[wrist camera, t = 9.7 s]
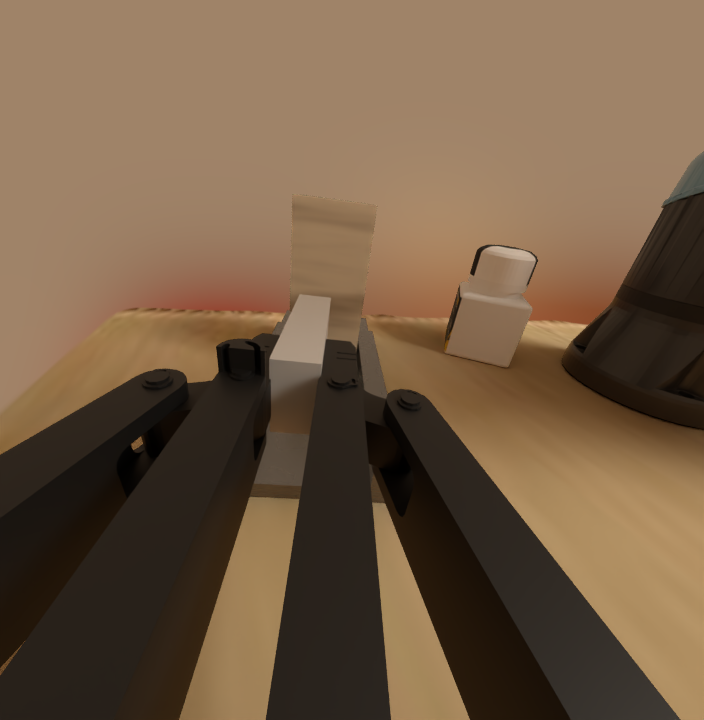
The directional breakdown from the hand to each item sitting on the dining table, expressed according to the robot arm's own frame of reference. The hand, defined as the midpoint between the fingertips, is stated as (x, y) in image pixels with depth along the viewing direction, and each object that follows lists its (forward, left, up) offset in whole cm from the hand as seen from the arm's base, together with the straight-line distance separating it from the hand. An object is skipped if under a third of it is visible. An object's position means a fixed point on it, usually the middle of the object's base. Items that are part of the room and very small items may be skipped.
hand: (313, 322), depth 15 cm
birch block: (-5, -12, -8) cm, 15 cm away
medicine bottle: (-24, -11, -9) cm, 28 cm away
